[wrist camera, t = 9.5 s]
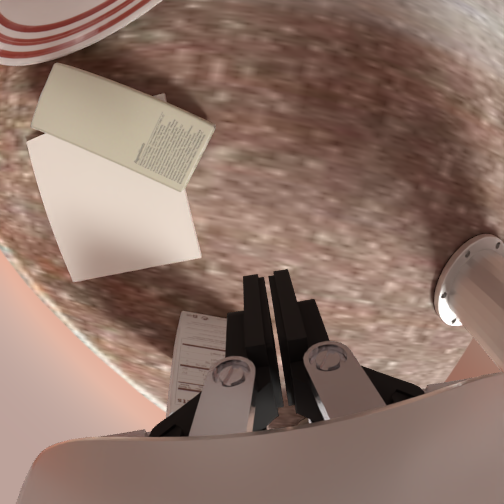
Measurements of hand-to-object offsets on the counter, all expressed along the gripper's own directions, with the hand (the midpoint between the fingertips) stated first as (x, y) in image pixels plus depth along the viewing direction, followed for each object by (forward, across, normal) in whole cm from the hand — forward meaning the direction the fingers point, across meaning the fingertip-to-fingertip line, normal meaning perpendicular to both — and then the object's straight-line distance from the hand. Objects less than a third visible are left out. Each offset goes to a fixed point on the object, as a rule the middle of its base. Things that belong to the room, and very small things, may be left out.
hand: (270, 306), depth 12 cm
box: (+12, +3, -4) cm, 13 cm away
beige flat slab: (+15, +12, -3) cm, 19 cm away
